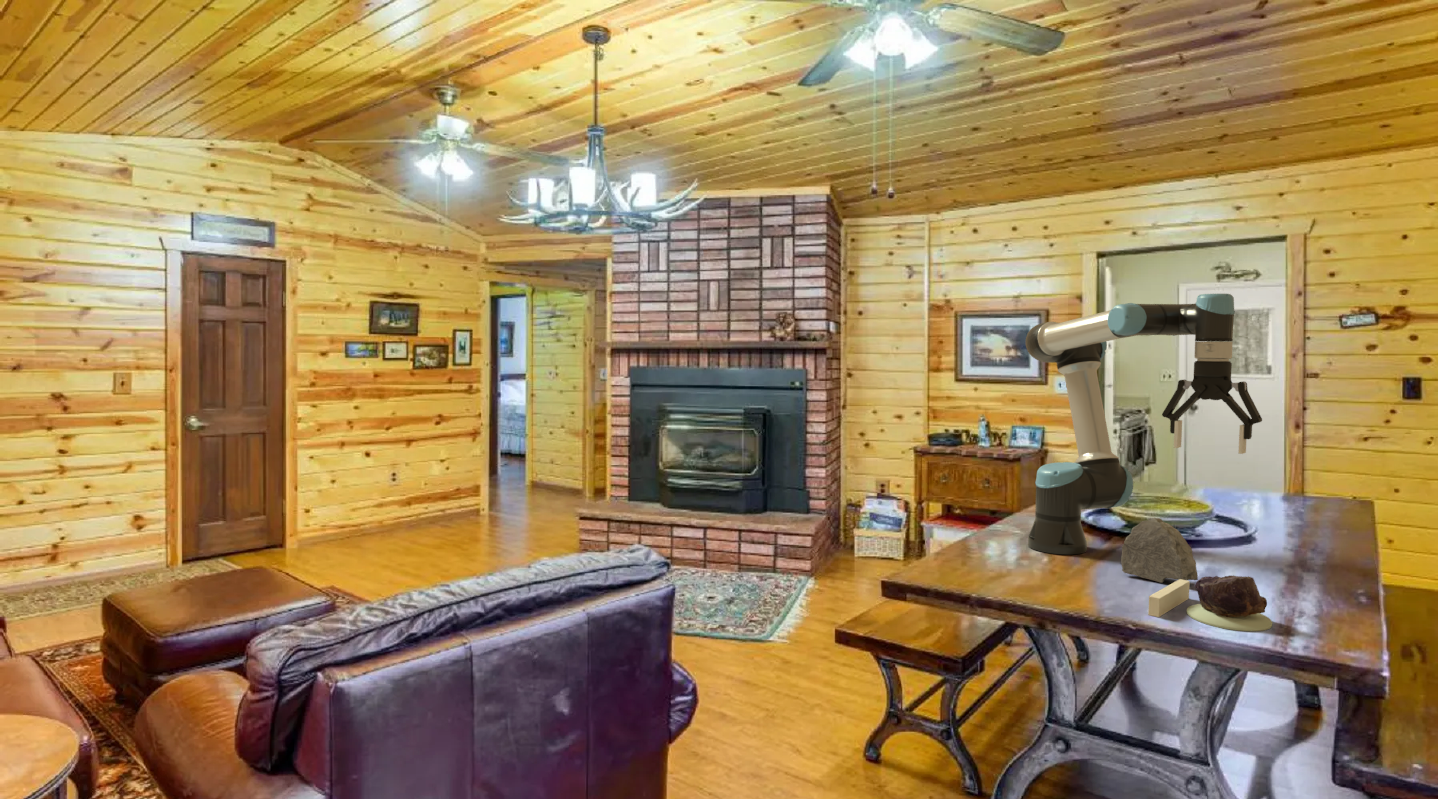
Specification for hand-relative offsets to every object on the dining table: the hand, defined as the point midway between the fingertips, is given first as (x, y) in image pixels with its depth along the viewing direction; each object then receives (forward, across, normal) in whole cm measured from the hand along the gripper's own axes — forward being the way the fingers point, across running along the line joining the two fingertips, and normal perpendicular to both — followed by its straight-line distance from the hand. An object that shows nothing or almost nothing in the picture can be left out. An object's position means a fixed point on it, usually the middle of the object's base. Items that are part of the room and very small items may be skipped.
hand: (1208, 450), depth 189 cm
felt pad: (+32, +12, -24) cm, 42 cm away
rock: (+31, +12, -24) cm, 41 cm away
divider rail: (+32, +1, -25) cm, 40 cm away
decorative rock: (+32, -8, -6) cm, 33 cm away
